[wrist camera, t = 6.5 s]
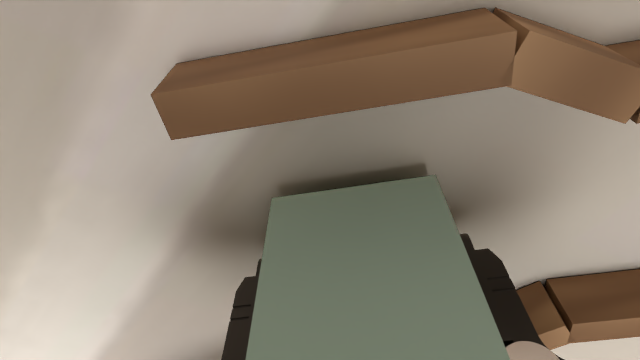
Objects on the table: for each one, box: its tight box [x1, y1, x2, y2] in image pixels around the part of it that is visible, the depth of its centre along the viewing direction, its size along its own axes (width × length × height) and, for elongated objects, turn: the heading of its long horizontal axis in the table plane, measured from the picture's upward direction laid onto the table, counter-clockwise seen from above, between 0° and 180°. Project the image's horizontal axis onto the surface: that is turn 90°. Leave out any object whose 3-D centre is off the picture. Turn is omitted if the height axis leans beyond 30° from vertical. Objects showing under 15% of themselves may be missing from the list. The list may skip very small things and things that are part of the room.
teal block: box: [246, 175, 510, 360], centre depth 11 cm, size 5×5×6 cm
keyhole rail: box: [151, 8, 640, 350], centre depth 12 cm, size 13×20×3 cm
